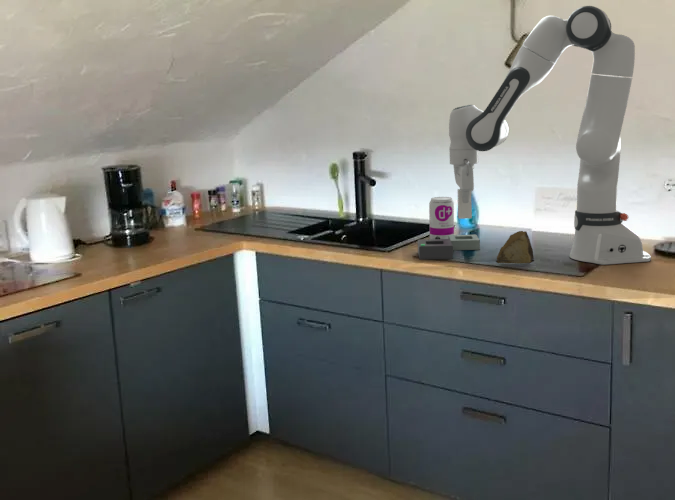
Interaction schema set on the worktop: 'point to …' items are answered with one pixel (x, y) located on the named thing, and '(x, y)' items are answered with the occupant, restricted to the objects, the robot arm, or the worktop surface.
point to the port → (435, 249)
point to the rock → (516, 249)
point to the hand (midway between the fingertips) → (464, 201)
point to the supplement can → (441, 217)
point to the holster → (465, 242)
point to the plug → (464, 206)
